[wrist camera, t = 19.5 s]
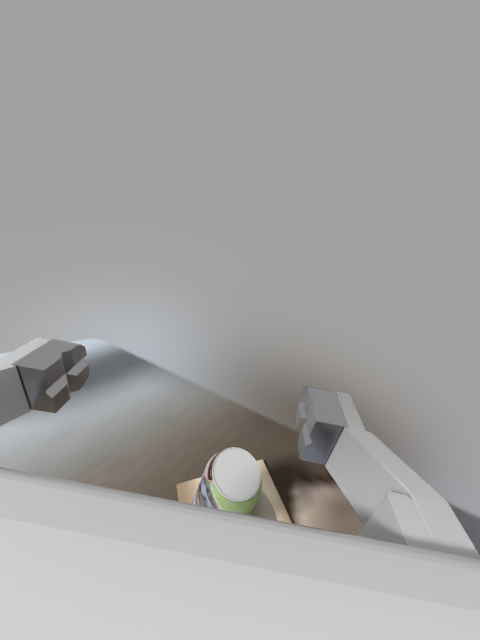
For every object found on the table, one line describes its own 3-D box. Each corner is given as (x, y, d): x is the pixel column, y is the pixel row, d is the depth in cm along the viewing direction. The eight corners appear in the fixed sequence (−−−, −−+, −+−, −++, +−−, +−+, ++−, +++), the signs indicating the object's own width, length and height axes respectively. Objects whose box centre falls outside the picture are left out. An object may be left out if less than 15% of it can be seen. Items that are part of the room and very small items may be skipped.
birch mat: (197, 630, 23) (197, 629, 22) (176, 487, 33) (176, 484, 33) (311, 570, 28) (312, 567, 27) (261, 461, 38) (262, 459, 38)
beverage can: (206, 484, 33) (215, 423, 28) (254, 516, 31) (275, 456, 25) (175, 533, 28) (179, 471, 23) (231, 576, 26) (250, 517, 20)
